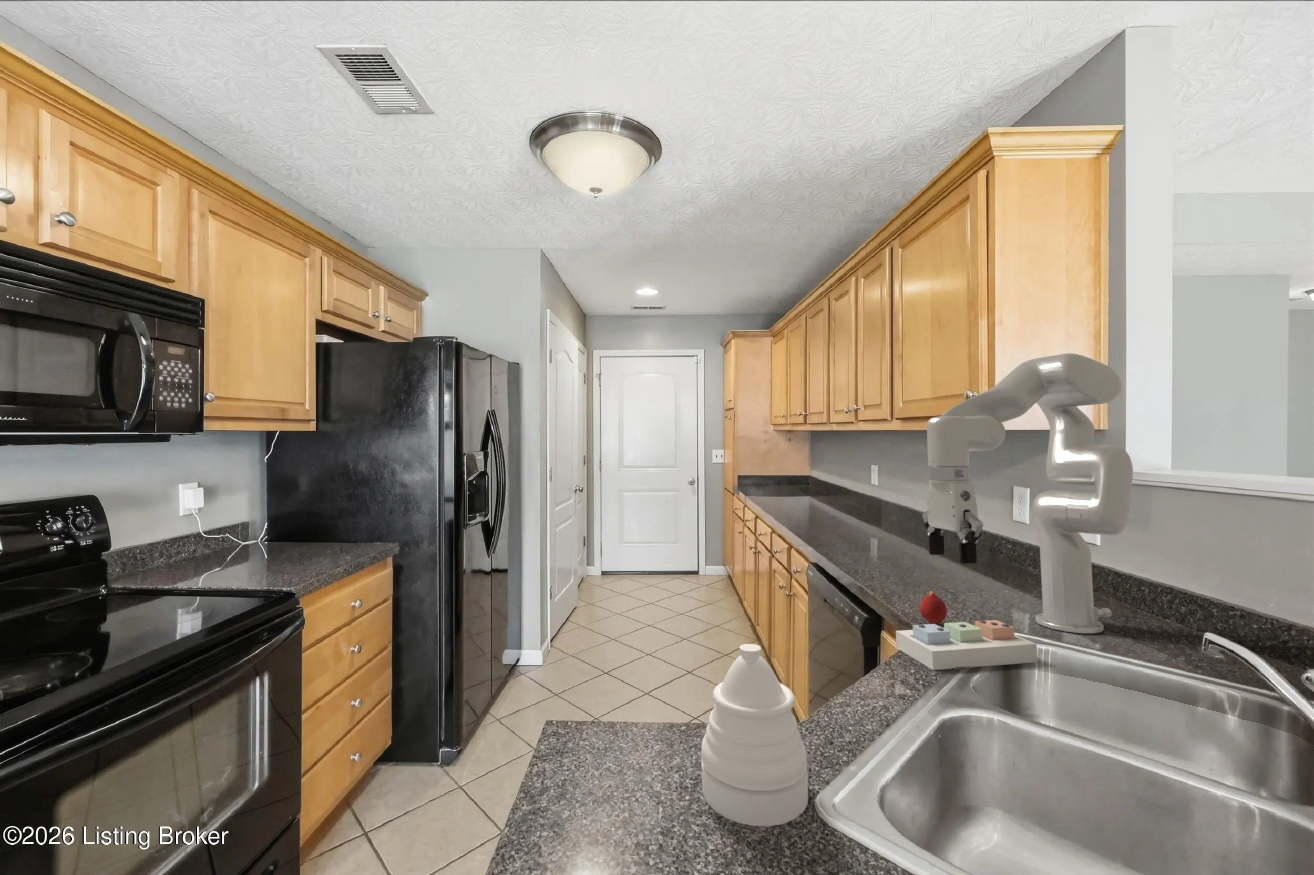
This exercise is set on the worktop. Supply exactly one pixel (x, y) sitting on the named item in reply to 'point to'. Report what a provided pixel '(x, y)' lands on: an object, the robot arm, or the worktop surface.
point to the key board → (967, 652)
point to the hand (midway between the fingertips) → (951, 558)
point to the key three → (995, 630)
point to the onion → (933, 609)
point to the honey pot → (754, 747)
